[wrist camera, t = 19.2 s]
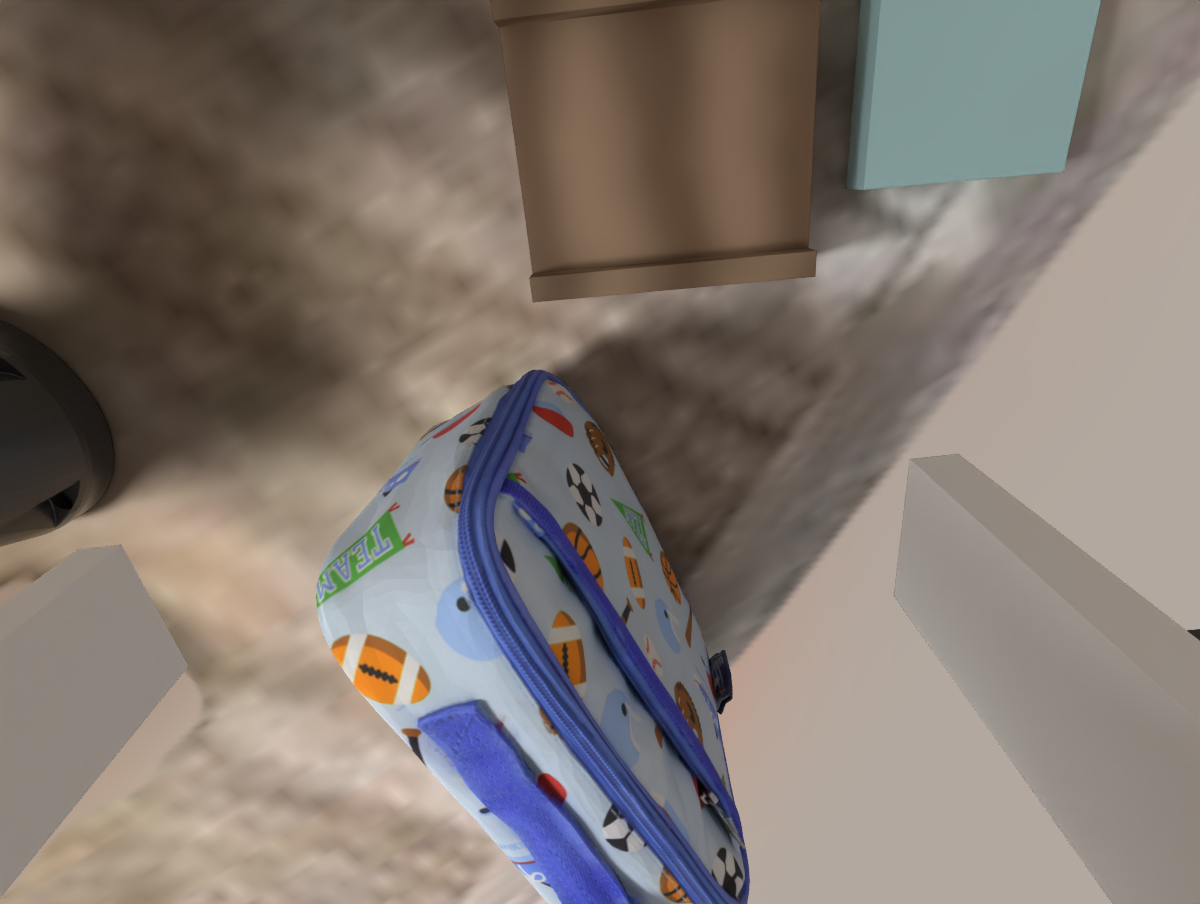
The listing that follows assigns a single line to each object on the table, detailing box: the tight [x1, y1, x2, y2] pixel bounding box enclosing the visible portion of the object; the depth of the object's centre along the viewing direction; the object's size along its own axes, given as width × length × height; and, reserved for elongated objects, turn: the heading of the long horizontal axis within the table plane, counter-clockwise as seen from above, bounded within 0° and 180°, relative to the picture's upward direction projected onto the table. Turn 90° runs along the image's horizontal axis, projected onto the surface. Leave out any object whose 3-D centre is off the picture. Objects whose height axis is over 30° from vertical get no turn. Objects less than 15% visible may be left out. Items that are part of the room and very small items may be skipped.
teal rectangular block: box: [846, 0, 1101, 190], centre depth 28 cm, size 14×10×3 cm
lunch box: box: [316, 370, 750, 904], centre depth 32 cm, size 28×10×22 cm, turn 28°
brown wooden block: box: [491, 0, 821, 302], centre depth 29 cm, size 14×13×5 cm
